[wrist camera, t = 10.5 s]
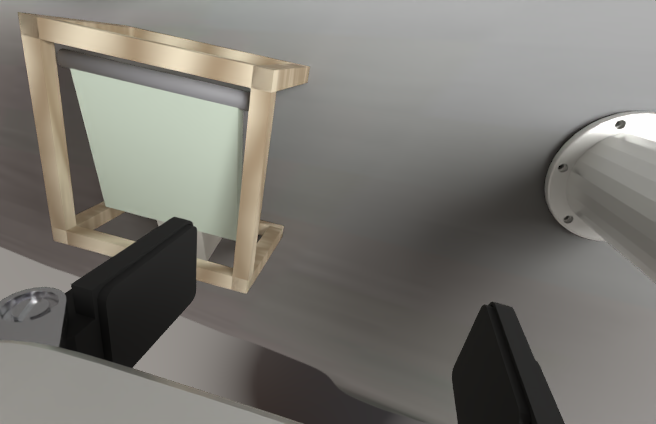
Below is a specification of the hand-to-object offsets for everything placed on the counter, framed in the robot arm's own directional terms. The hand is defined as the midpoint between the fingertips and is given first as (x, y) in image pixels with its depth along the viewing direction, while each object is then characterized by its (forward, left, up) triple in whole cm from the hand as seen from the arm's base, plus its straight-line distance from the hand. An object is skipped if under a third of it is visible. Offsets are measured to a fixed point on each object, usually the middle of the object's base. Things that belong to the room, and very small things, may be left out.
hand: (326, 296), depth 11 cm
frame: (+17, +5, -28) cm, 33 cm away
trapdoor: (+17, +4, -19) cm, 26 cm away
